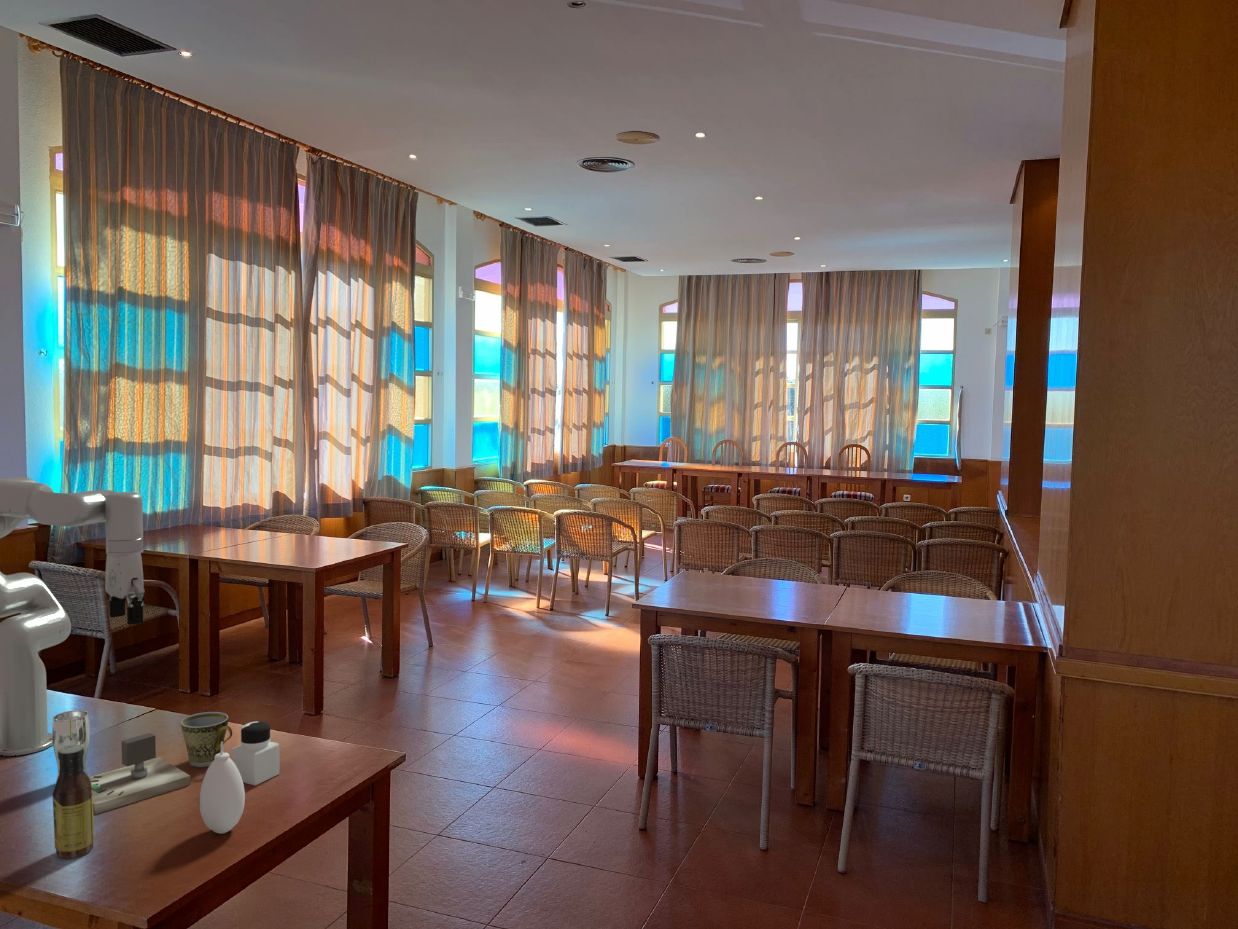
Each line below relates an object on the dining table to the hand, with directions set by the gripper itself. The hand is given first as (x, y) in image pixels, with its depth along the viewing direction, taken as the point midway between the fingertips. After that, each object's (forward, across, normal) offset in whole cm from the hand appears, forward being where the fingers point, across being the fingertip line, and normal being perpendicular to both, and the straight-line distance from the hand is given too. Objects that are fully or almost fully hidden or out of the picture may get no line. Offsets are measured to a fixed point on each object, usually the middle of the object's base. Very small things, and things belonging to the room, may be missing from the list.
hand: (126, 620), depth 209 cm
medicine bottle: (+32, +32, +14) cm, 48 cm away
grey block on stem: (+30, +18, -7) cm, 36 cm away
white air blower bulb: (+32, +51, -3) cm, 61 cm away
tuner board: (+32, +18, -7) cm, 38 cm away
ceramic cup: (+32, +17, +11) cm, 38 cm away
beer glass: (+32, +6, -14) cm, 36 cm away
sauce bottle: (+32, +39, -25) cm, 57 cm away
